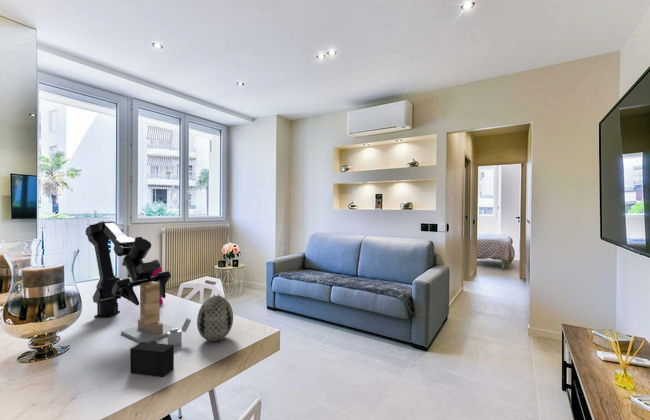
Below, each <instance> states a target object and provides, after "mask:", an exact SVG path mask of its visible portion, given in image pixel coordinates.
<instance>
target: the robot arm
mask: <svg viewBox="0 0 650 420" xmlns="http://www.w3.org/2000/svg"><path fill="white" fill-rule="evenodd" d="M85 236H87V240H88V242H90V244H92V245H93V247H94V250H95V257H96V263H97V268H98V273H99V280H98V283H97V284H96V289H95V292H94V293H93V296H92V302H93V303H95V304H97V305H96V306H97V307H96V308H97V314H95V315H94V316H93V317H94V318H111V317H113V316H115V315H116V314H119V313H120V312H121V310H119V302H118V299H119V300H120V299H122V298H124V299H125V300H128V301H129V302H131V303H132V304H133V305H135V306H137V307H138V306H140V300H139V299H138V297H137V295H136V292H135V291H134V287H140V284H142V283H147V282H152V281H154V282H158V283H159V292H160V295H161V296H162V298H161V299H163V300H164V299H166V296H167V295H166V284H167V283H168V282H169V280H170V279H171V277H172V274H171V272H170V271H169V270H165V271H162V272H159V273H158V274H157V276H156V277H152V278H151V277H150V276H151V275H153V271H154V270H157V269H158V268H159V267H160V266H161V263H160V261H159V259H154V260H151V261H150V262H149V261H147V262H144V260H143V259H145V258H146V257H147V255H148V253H149V251H150V249H151V247H152V243H151V241H149V240H147V239H145V238H143V237H142V236H136V237H135V238H133V237H129V236H127V235H125V233H124V232H123V231H122V230H121V229H120V228H119V226H117V224H116V222H115V221H114V220H102V221H99V222H98V223H93V224H89V225H88V226H87V227H86V228H85ZM110 241H111V242H112V244H113V252H114V254H116V256H118V257H123V259H122V264H121V265H122V267H124V266H125V268H126V270H127V273H128V274H127V277H128V278H123V279H120V277H117V276H116V275H114V269H113V265H112V259H111V253H110V247H109V242H110Z"/></svg>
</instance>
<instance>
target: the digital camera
mask: <svg viewBox="0 0 650 420" xmlns="http://www.w3.org/2000/svg"><path fill="white" fill-rule="evenodd" d="M174 347H175V346H174V345H168V343H167V344H166V343H159V342H157V341H151V342H149V343H148V342H141V343H140V342H139V343H138V344H137V345H134V346H132V347H131V348H130V349H129V350H130V351H129V352H130V353H129V356H130V374H133V375H141V376H148V375H149V376H150V377H157V376H158V378H164V377H166V376H167V375H168V374H169V373H171V372H172V371H173V370H174V369H175V366H174V365H175V364H174V363H175V361H174V360H175V359H174V358H175V356H174V353H175V349H174Z"/></svg>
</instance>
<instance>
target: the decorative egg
mask: <svg viewBox="0 0 650 420" xmlns="http://www.w3.org/2000/svg"><path fill="white" fill-rule="evenodd" d="M196 324H197V325H196V326H197V330H198V331H197V332H198V333H199V334H200V336H201V337H202V338H203V339H204V340H206V341H208V342H217V341H220V340H223V339H224V338H225V337H226V336H228V334H230V332H231V329H232V328H233V324H234V313H233V308H232V306H231V304H230V303H229V301H228V299H226V298H224V297H223V296H222V295H221V296H220V295H214V296H210V297H209V298H207V299H206V300H205V301H204V302H203V303H202V305H201V306H200V308H199V310H198V314H197V319H196Z"/></svg>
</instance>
